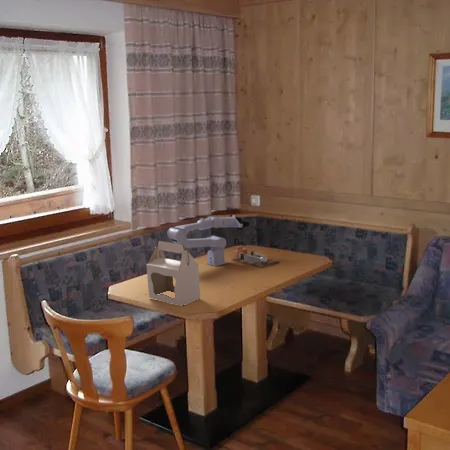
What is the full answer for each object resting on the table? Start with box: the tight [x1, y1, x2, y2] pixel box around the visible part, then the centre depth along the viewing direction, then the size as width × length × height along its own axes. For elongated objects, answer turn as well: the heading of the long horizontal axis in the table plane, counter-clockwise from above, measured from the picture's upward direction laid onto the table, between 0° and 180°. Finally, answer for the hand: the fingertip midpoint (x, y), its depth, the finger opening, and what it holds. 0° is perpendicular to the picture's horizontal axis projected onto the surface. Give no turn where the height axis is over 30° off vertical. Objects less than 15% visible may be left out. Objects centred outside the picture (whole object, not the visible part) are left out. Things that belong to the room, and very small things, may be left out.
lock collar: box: [233, 245, 248, 259], centre depth 378 cm, size 3×8×6 cm, turn 130°
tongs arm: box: [250, 250, 264, 257], centre depth 373 cm, size 14×2×3 cm, turn 25°
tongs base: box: [239, 252, 268, 264], centre depth 369 cm, size 19×4×4 cm, turn 40°
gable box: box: [146, 240, 201, 305], centre depth 309 cm, size 22×13×28 cm, turn 50°
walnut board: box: [231, 253, 280, 269], centre depth 372 cm, size 25×14×1 cm, turn 40°
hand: (244, 222), depth 380 cm, fingers open, 7 cm apart
